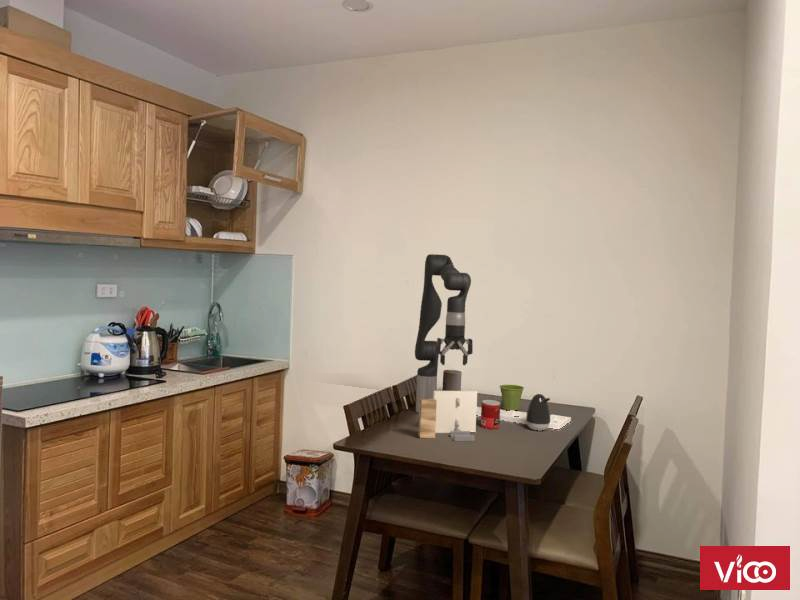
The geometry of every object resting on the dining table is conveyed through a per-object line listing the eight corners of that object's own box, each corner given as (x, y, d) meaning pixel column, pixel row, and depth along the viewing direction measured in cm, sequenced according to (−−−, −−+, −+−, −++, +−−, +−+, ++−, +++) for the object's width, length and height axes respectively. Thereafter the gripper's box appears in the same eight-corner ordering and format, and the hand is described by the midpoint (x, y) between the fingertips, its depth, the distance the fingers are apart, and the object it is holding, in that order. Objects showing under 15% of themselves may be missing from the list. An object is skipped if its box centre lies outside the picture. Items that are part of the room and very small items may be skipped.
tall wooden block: (418, 436, 244) (419, 398, 244) (433, 436, 245) (434, 398, 245) (420, 438, 241) (421, 400, 240) (435, 438, 242) (436, 400, 241)
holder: (463, 414, 286) (463, 409, 286) (479, 408, 302) (479, 402, 302) (558, 431, 263) (559, 425, 263) (570, 423, 278) (571, 417, 278)
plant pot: (496, 406, 305) (497, 384, 304) (521, 407, 304) (522, 385, 304) (499, 412, 293) (500, 388, 292) (524, 413, 292) (526, 389, 292)
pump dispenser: (540, 433, 256) (542, 397, 255) (520, 428, 264) (522, 393, 263) (555, 430, 262) (557, 395, 261) (535, 425, 270) (537, 390, 269)
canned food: (497, 430, 258) (498, 404, 258) (478, 428, 261) (480, 402, 260) (500, 426, 266) (501, 401, 265) (482, 424, 268) (483, 399, 268)
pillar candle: (439, 397, 320) (441, 369, 319) (444, 394, 329) (446, 366, 328) (458, 400, 317) (459, 371, 316) (462, 396, 326) (463, 368, 325)
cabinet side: (431, 431, 252) (433, 390, 251) (474, 431, 255) (476, 390, 254) (439, 441, 238) (441, 397, 237) (484, 441, 241) (486, 398, 241)
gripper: (470, 323, 245) (468, 363, 246) (435, 322, 243) (433, 363, 244) (475, 325, 238) (473, 366, 239) (439, 324, 236) (438, 366, 236)
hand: (453, 364), depth 241 cm, fingers open, 8 cm apart
